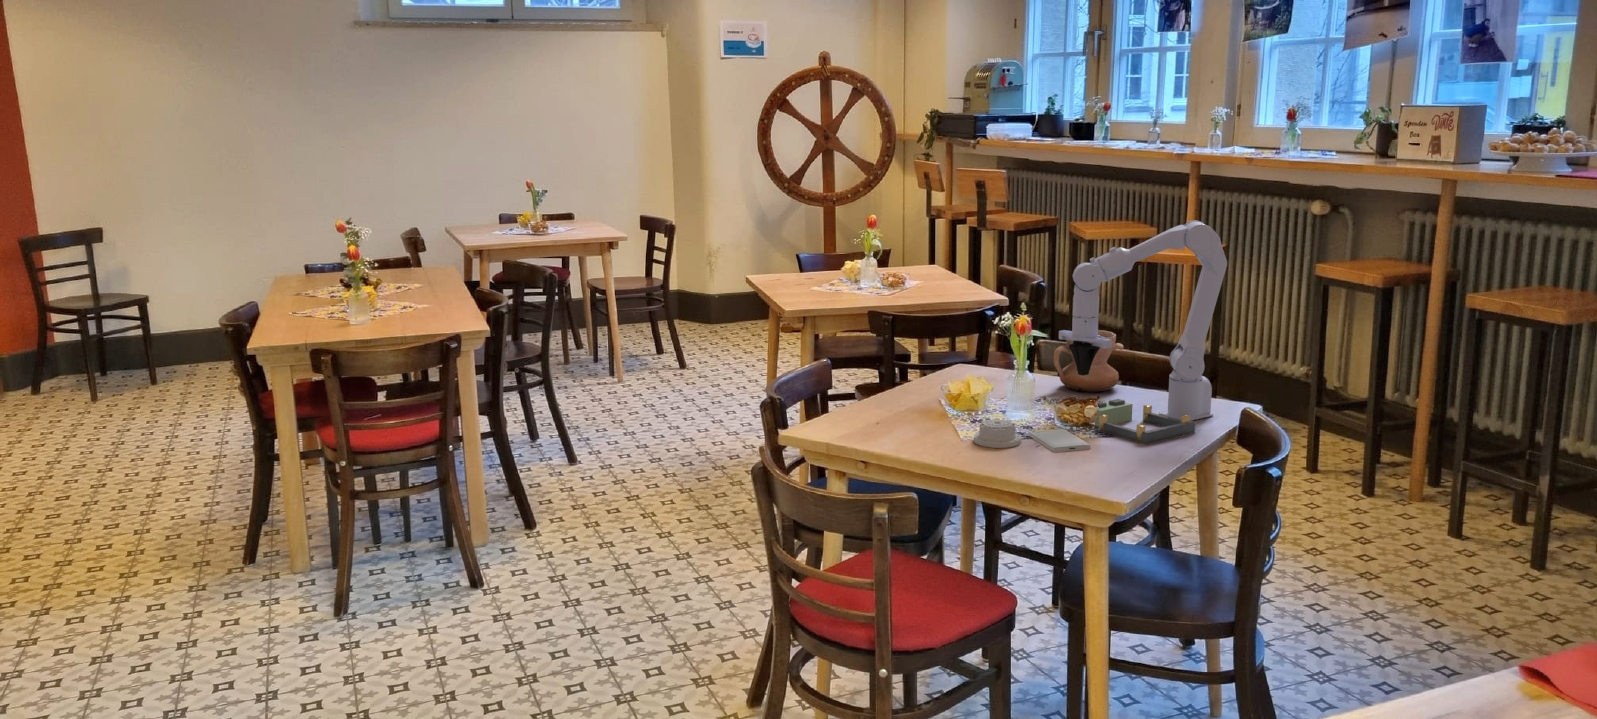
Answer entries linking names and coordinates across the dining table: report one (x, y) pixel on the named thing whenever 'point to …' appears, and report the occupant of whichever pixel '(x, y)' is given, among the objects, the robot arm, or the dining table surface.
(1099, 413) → the green block
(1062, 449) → the hard drive
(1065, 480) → the dining table surface
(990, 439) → the gray cake
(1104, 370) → the ceramic jug
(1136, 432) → the tray
